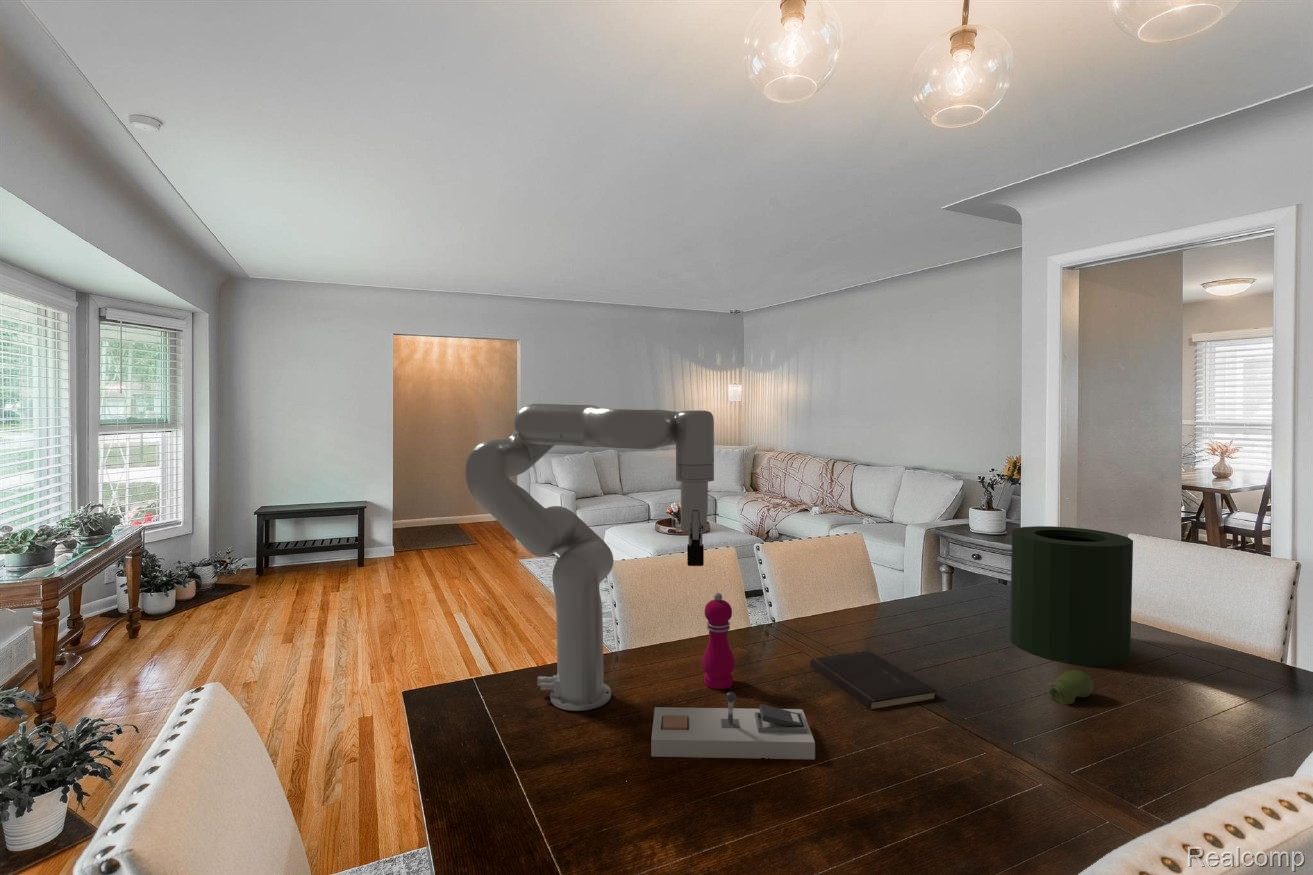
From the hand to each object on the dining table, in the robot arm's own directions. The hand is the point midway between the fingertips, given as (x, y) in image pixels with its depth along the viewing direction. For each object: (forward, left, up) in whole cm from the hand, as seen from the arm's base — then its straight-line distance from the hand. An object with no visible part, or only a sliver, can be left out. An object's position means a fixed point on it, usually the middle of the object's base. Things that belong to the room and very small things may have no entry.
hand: (695, 564), depth 127 cm
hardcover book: (+38, +14, -30) cm, 51 cm away
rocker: (+15, -12, -25) cm, 31 cm away
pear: (+77, +7, -30) cm, 83 cm away
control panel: (+6, -12, -29) cm, 32 cm away
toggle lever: (+6, -12, -26) cm, 29 cm away
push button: (-4, -12, -29) cm, 31 cm away
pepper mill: (+5, +12, -29) cm, 32 cm away
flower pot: (+93, +36, -29) cm, 104 cm away
